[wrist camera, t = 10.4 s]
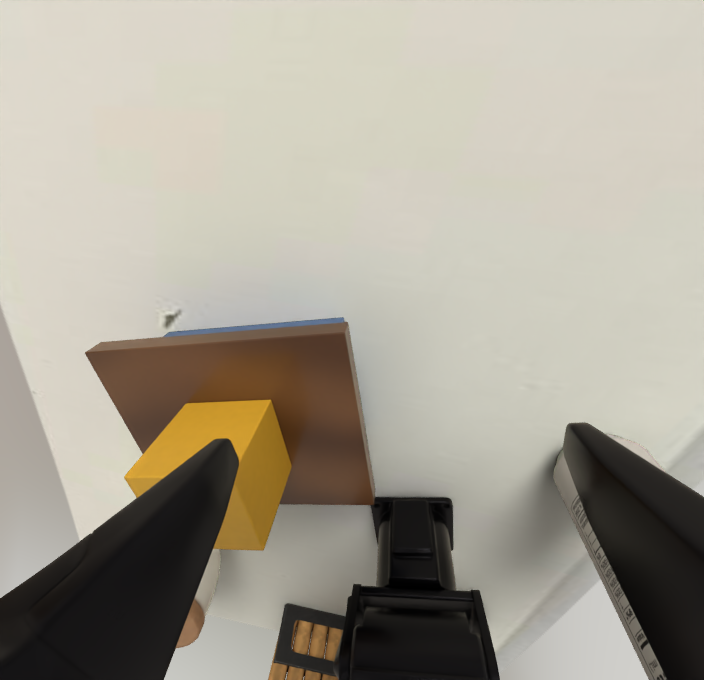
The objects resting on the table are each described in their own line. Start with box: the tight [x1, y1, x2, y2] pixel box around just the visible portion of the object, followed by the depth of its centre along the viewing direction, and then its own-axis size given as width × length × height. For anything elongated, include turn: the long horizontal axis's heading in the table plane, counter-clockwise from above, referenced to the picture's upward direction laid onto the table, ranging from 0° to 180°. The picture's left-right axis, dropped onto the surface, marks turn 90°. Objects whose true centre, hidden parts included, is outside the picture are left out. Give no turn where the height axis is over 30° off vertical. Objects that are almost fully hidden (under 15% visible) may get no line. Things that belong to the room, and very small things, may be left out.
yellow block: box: [124, 400, 292, 551], centre depth 17 cm, size 5×5×5 cm
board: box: [85, 322, 375, 505], centre depth 20 cm, size 12×14×1 cm
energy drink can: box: [553, 434, 667, 680], centre depth 18 cm, size 6×6×15 cm
